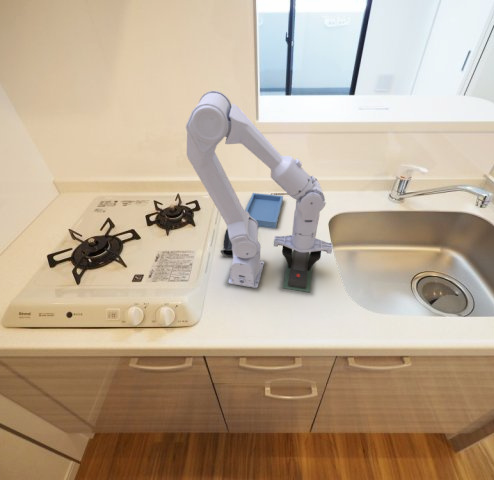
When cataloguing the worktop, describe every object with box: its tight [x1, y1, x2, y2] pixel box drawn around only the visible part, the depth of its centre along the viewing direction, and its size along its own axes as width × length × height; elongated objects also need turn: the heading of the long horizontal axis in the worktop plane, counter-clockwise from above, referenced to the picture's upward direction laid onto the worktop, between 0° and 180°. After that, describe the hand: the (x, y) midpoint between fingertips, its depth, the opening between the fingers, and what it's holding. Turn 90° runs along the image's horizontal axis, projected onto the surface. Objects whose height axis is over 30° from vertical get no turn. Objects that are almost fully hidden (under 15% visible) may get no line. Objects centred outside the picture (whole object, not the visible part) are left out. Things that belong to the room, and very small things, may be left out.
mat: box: [282, 250, 313, 293], centre depth 72 cm, size 14×7×1 cm, turn 168°
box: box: [244, 192, 284, 229], centre depth 93 cm, size 17×12×2 cm
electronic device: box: [220, 228, 233, 257], centre depth 81 cm, size 9×6×15 cm
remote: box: [288, 249, 310, 288], centre depth 71 cm, size 13×4×3 cm, turn 168°
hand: (299, 267), depth 71 cm, fingers closed on remote, 4 cm apart
